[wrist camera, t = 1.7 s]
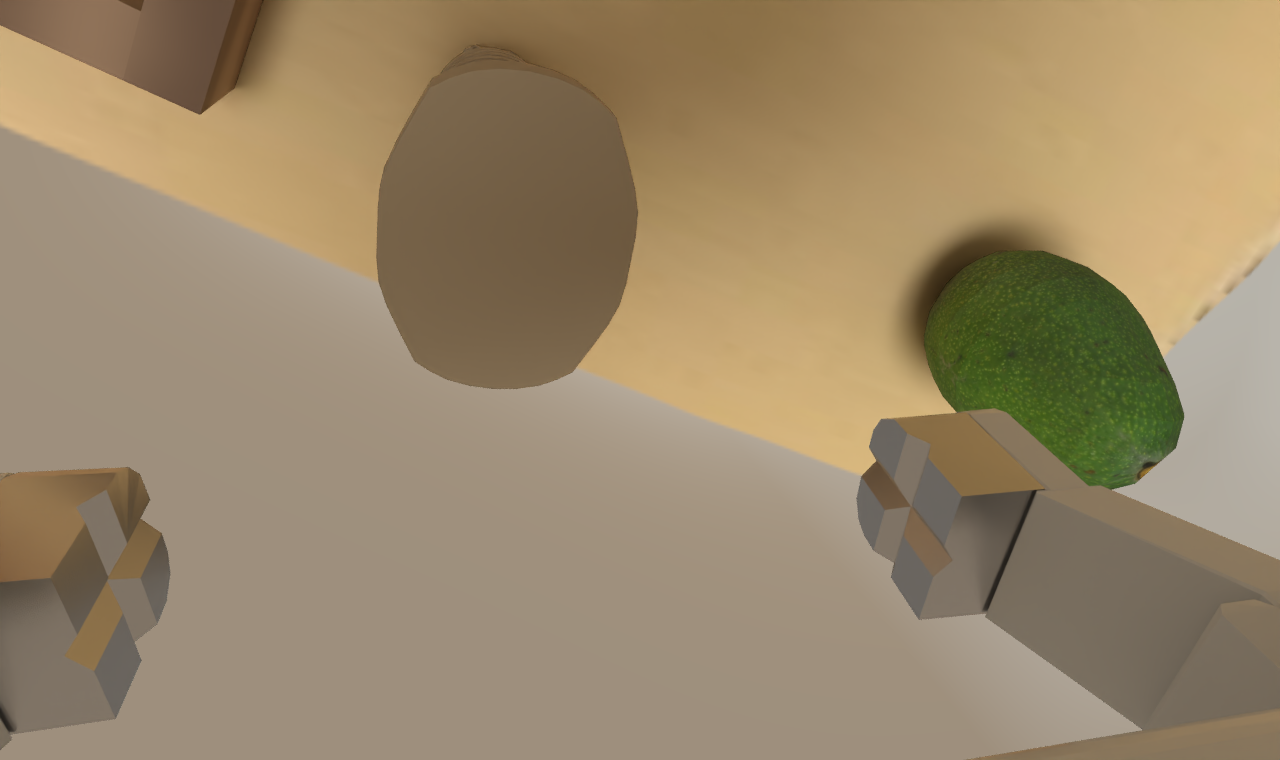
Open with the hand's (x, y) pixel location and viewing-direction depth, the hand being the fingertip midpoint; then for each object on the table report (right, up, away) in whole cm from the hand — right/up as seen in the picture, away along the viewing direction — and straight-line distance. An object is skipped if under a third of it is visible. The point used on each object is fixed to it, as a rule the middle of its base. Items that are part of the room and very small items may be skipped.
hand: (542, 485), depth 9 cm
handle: (-4, +12, +19) cm, 22 cm away
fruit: (+17, +5, +28) cm, 33 cm away
